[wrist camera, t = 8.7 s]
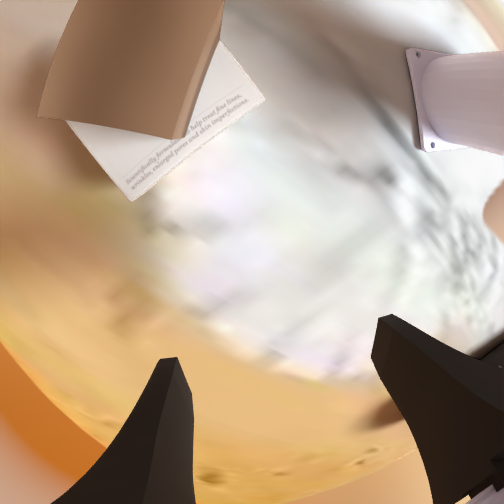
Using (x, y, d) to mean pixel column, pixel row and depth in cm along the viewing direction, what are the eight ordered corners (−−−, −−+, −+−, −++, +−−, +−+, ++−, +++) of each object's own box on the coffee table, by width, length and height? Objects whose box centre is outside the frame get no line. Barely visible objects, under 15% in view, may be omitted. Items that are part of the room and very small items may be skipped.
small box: (149, 186, 17) (128, 208, 12) (79, 96, 13) (37, 89, 9) (253, 108, 16) (271, 100, 11) (179, 17, 12) (169, -19, 8)
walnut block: (219, 40, 10) (224, -2, 6) (185, 137, 11) (171, 140, 7) (120, 24, 8) (86, -14, 5) (88, 118, 10) (36, 116, 6)
